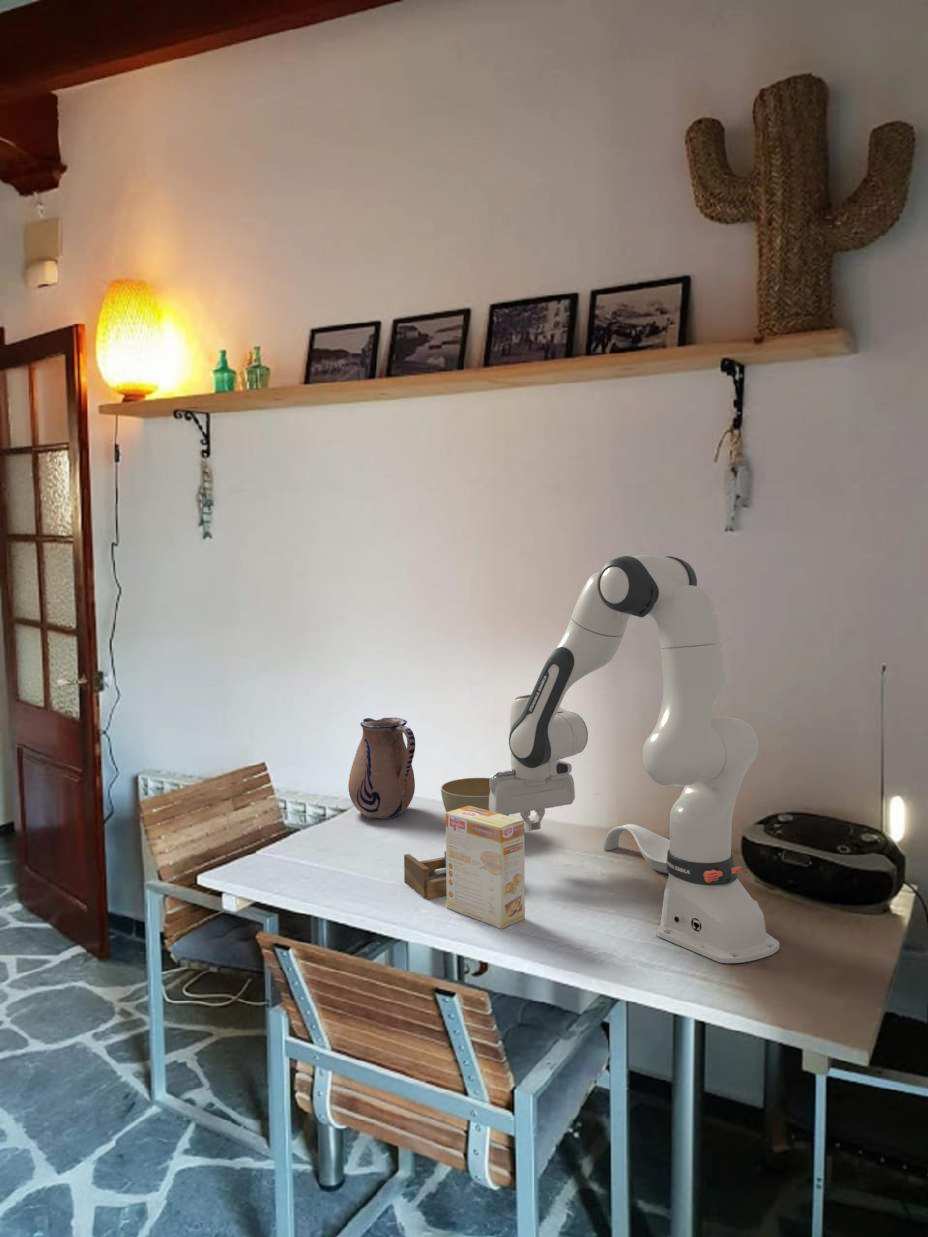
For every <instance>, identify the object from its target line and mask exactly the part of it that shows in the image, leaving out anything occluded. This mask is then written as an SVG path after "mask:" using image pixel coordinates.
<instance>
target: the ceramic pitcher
mask: <svg viewBox="0 0 928 1237" xmlns="http://www.w3.org/2000/svg"><path fill="white" fill-rule="evenodd" d="M407 723H408V721H407V720H406V719H403V718H400V717H383V718H381V719H374V718H371V717H368V718H363V720H362V722H360V724H359V725H360V726H361V728H362V735H361V736H362V737H361V739H360V742H359V744H358V746H357V749H356V753H355V756H354V758H353V761H352V765H351V768H350V772H349V778H348V786H347V787H348V795H349V799H350V800H351V802H352V805H353V806H354V807H355V809H356V810H357V811H358V812H359V813H361V814H362V815H364V816H365V817H367V818H369V819H374V818H376V819H377V818H379V819H385V820H386V819H391V818H394V817H398V816H399V815H401V814H402V813H404V812H405V811H406V810H407V809H408V808H409V806H410V804H411V803H412V801H413V798H414V794H415V792H416V791H415V789H416V784H415V783H416V782H415V773H414V769H413V768H414V767H413V765H412V763H413V759H414V757H415V751H416V736H415V734H414V731H413V730H412V729H411V728H410V727H409V726H408V727H407V726H406V725H407ZM404 735H405V737H406V743H405V740H404ZM406 744H407V745H406Z"/></svg>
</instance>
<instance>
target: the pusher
mask: <svg viewBox="0 0 928 1237" xmlns="http://www.w3.org/2000/svg"><path fill="white" fill-rule="evenodd" d="M444 857H445V868H441V869H436V870H435V874H441V873H445V874H446V850H445V851H444Z"/></svg>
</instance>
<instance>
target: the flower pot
mask: <svg viewBox="0 0 928 1237" xmlns="http://www.w3.org/2000/svg"><path fill="white" fill-rule="evenodd" d="M490 779H491V777H466V778H457V779H453V780H449V781H447V782H445V783H443V784H442V785H441V787H440V792H441V793H440V794H441V798H442V799H441V800H442V803H443V807H444V809H445V813H446V812H449V811H452V810H456V809H459V808H462V807H466V806H472V807H476V808H480V809H484V810H488V811H490V810H489V795H490V783H489V782H490ZM506 816H510V815H506Z"/></svg>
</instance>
